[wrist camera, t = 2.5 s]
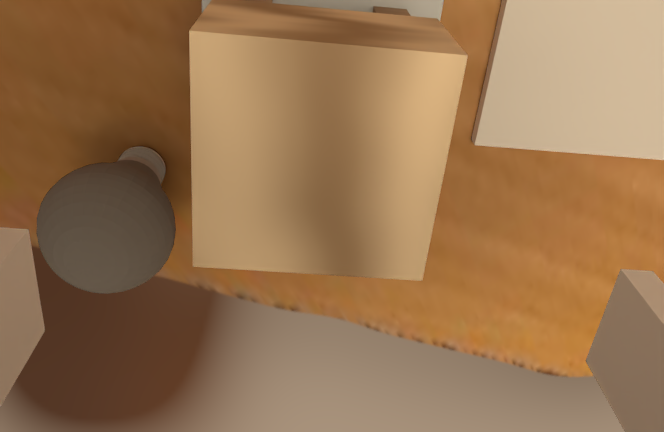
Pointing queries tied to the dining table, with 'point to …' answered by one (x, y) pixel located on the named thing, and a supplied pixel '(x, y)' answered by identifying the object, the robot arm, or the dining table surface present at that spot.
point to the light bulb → (108, 223)
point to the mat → (576, 78)
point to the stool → (319, 137)
